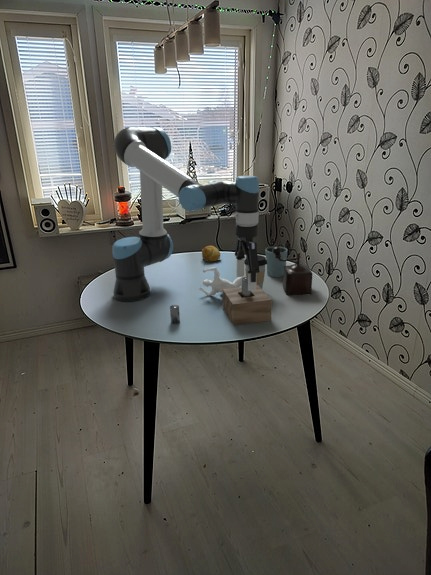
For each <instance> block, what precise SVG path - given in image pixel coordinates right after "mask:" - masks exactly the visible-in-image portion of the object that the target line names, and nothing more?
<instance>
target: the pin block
mask: <svg viewBox="0 0 431 575" xmlns="http://www.w3.org/2000/svg"><path fill="white" fill-rule="evenodd" d="M272 304H273V301H272V298H271V297H270V296H269V295H268V294H267V293H266V292H265V290H263V288H262V289H261V288H260V287H259V286H258V285H256V290H253V291H251V297H244V298H242V287H241V286H240V287H239V288H230V289H223V293H222V310H223V311H224V313H225V314H226V316H227V318H228V319H229V321H230V322H231V324H232V326H236V325H237V326H238V325H246V324H252V323H253V324H254V323H259V322H269V321H271V320H272Z"/></svg>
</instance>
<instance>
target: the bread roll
mask: <svg viewBox="0 0 431 575" xmlns="http://www.w3.org/2000/svg"><path fill="white" fill-rule="evenodd" d="M220 252H221V251H219V249H218V248H217V247H215V246H214V245H207V246H205V247H203V248H202V249H201V255H202V259H203V260H204V261H205V262H209V263H211V262H217V261H219V259H220V258H221V253H220Z"/></svg>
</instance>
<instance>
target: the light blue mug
mask: <svg viewBox="0 0 431 575" xmlns="http://www.w3.org/2000/svg"><path fill="white" fill-rule="evenodd" d="M274 247H275V246H270V247H266V248H265V250H264V251H265V258H266V260H267V264H266V275H267V276H269V277H272V278H280V277H283V276H284V266H287V261H280V260H278V258H275V254H274V253H273V252H272V250H273V248H274ZM279 247H280V248H281V253H280V254H281V259H288V248H286V247H283V246H279Z"/></svg>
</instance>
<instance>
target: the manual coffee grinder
mask: <svg viewBox="0 0 431 575" xmlns="http://www.w3.org/2000/svg"><path fill="white" fill-rule="evenodd" d="M273 247H274V248H273V250H272V252H273V253H274V254H275V258H278V260H280V261H286V262H289V261H294V260H297V261H295V262H294V264H291V265H286V266H284V276H282V277H283V280H282V289H283V292H284V294H285V295H286V296H287V295H288V296H304V295H303V294H310V295H312V285H313V272H312V271H311V269H310V267H309V266H308V264H306V265H304V264H302V263H300V258H301V253H300V252H297V254H296V255H297V256H295V257H290V258H287V259H281V254H280V253H281V248H280V247H281V246H273Z"/></svg>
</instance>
